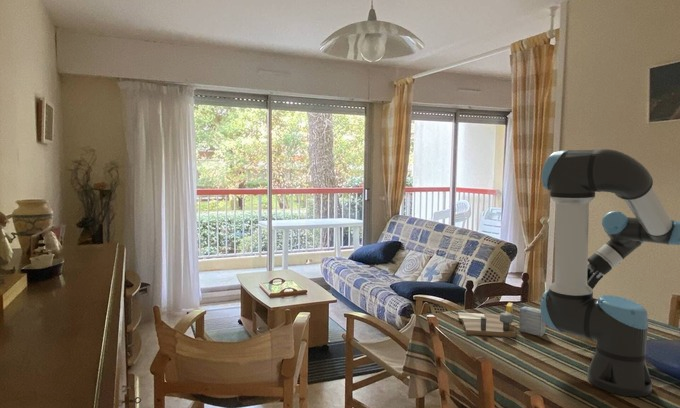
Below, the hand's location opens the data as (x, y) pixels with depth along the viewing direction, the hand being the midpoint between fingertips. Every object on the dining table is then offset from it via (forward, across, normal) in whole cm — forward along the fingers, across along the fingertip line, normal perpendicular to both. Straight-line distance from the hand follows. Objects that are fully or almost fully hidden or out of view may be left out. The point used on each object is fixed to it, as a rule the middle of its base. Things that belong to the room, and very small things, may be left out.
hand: (557, 299), depth 162 cm
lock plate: (+26, +3, +8) cm, 27 cm away
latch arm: (+19, -1, +5) cm, 20 cm away
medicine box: (+15, -1, -3) cm, 15 cm away
